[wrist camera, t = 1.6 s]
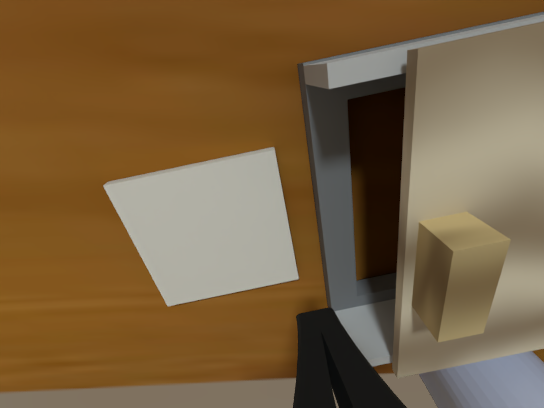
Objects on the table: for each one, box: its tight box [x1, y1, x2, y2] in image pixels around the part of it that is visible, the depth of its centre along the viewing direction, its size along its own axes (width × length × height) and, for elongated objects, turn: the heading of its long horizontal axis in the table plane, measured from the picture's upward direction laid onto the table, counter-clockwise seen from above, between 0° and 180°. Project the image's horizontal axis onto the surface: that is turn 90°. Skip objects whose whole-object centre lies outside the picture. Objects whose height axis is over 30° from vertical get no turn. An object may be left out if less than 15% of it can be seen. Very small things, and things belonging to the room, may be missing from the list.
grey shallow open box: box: [297, 12, 544, 367], centre depth 15 cm, size 18×25×6 cm
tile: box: [103, 147, 299, 306], centre depth 17 cm, size 10×10×1 cm
